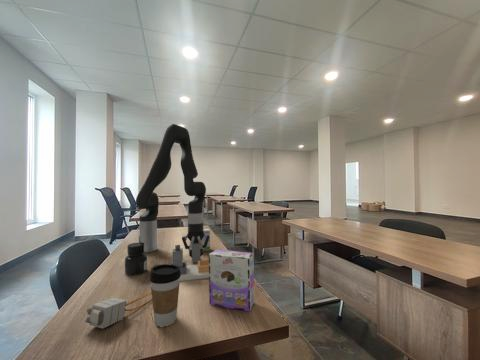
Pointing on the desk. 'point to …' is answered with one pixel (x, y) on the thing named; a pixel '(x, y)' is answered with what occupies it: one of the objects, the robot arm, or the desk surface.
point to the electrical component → (109, 312)
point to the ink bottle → (135, 259)
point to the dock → (189, 266)
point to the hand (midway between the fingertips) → (195, 256)
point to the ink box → (206, 232)
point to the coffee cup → (165, 293)
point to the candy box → (231, 279)
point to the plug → (195, 252)
